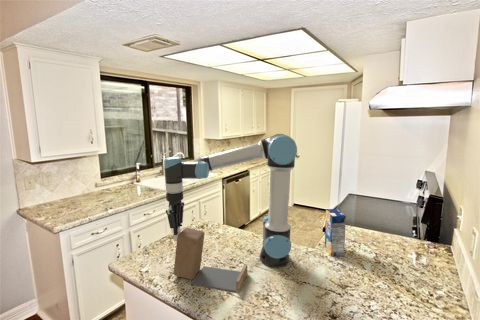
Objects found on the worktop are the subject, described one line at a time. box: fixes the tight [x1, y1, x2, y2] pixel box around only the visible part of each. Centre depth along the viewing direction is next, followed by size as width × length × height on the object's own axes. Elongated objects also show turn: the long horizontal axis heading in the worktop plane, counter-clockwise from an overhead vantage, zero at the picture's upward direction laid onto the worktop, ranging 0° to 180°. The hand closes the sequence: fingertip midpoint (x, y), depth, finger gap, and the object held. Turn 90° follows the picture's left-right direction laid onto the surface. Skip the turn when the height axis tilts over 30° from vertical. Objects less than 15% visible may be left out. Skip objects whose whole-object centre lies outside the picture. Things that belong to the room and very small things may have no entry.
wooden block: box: [173, 227, 205, 281], centre depth 122 cm, size 10×10×20 cm
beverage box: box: [324, 208, 347, 257], centre depth 141 cm, size 7×11×22 cm, turn 179°
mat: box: [190, 265, 241, 293], centre depth 119 cm, size 21×14×1 cm, turn 74°
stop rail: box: [236, 263, 248, 293], centre depth 116 cm, size 1×14×5 cm, turn 164°
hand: (177, 240), depth 122 cm, fingers closed
